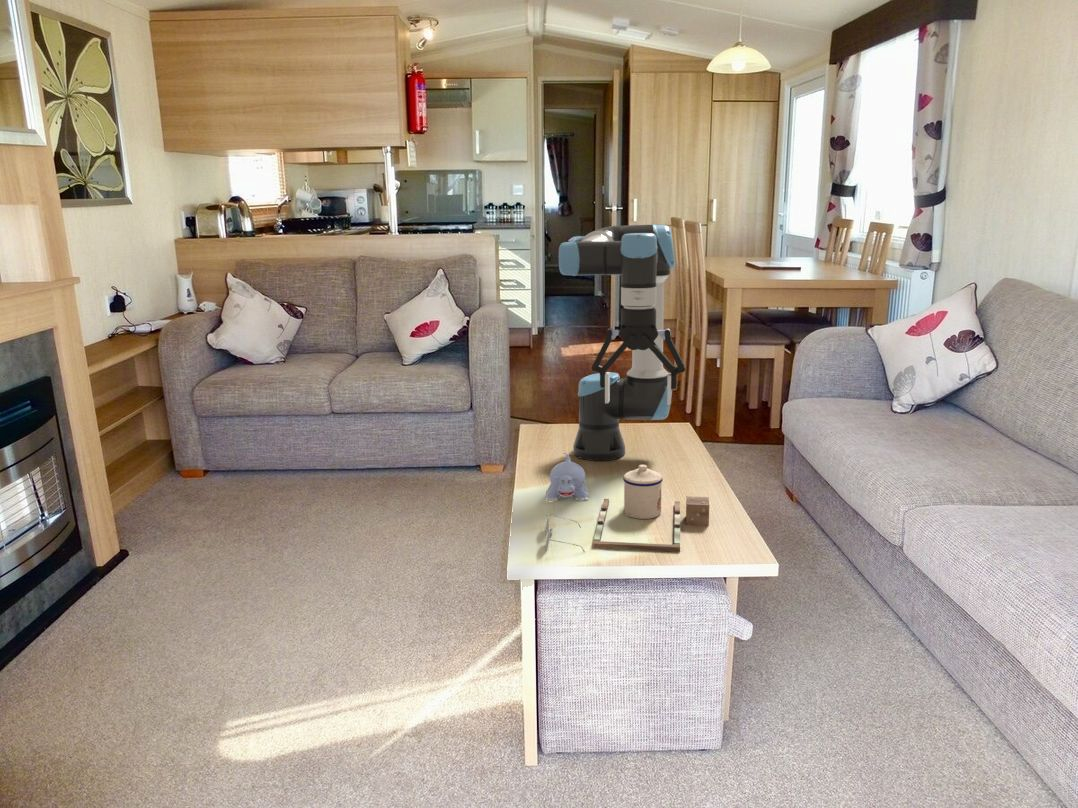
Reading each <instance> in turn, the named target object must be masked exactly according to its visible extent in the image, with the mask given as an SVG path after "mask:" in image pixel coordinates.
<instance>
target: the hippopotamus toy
mask: <svg viewBox="0 0 1078 808" xmlns="http://www.w3.org/2000/svg"><path fill="white" fill-rule="evenodd" d="M563 454H564V455H565V461H561V462H559V463H557V464H556V465H555V466H553V468H552V469H551V471H550V474H549V481H550V485H549V486H548V488H547V489H546V496H545V501H547V502H549V501H550V502H554V501H555V502H557V501H559V498H560V497H562V498H570V497H572V496H574V498H575V501H577V502H578V501H579V502H584V501H585V502H587V501H589V495H588V494H589V490H588V488H587V486H586V485H585V482H586V472H585V469H584V468H583V467H582V466H581V465H580V464H578V463H576V462H574V461H572V460H571V457H570V455H569V453H566V452H563Z"/></svg>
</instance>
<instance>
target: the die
mask: <svg viewBox="0 0 1078 808" xmlns="http://www.w3.org/2000/svg"><path fill="white" fill-rule="evenodd" d="M685 499H686V502H685V503H686V505H685V525H687V526H708V527H710V497H709V496H693V495H692V496H689V495H687V496H686V497H685Z"/></svg>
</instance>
